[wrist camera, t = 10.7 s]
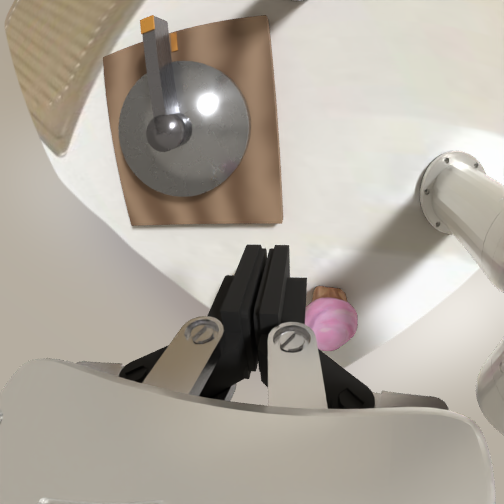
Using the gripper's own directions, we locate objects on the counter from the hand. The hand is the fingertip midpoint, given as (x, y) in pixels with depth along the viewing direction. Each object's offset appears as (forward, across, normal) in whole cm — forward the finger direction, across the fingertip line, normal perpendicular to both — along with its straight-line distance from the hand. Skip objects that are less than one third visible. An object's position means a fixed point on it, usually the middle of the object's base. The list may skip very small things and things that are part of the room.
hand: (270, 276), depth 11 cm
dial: (+25, +14, -8) cm, 30 cm away
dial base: (+27, +14, -5) cm, 31 cm away
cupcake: (+27, -5, +23) cm, 36 cm away
